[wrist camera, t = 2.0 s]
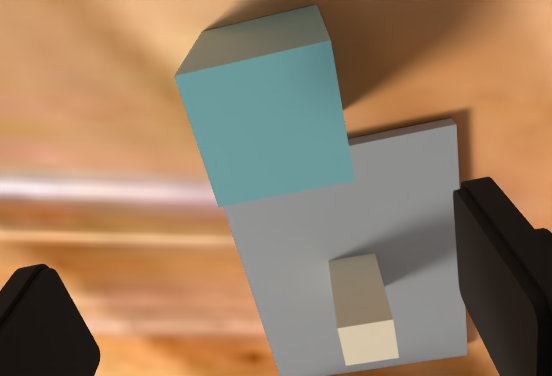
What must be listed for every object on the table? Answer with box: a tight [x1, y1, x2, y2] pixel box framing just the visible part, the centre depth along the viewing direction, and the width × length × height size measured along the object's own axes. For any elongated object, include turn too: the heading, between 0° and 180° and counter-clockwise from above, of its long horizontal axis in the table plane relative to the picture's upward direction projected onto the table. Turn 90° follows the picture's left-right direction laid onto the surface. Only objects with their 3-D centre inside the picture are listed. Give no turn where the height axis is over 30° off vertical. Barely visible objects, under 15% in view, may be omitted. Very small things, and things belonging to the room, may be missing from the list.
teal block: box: [174, 4, 355, 207], centre depth 20 cm, size 5×5×7 cm
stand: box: [223, 118, 468, 376], centre depth 26 cm, size 16×12×6 cm
